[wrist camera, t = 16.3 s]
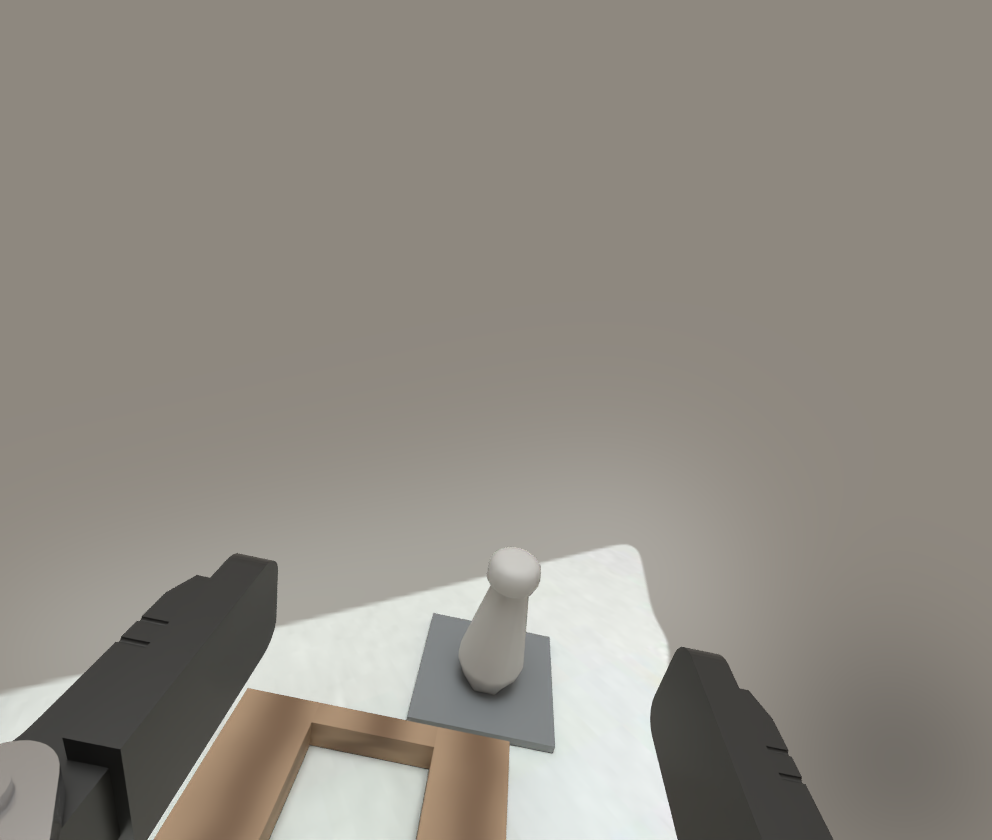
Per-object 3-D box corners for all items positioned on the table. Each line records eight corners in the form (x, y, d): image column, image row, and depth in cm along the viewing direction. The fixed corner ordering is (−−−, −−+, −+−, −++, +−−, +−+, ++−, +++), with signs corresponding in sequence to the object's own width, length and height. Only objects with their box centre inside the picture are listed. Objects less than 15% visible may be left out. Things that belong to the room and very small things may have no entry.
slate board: (405, 723, 38) (407, 716, 37) (432, 619, 48) (433, 613, 47) (552, 753, 38) (555, 746, 37) (547, 642, 48) (549, 637, 48)
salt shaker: (447, 651, 44) (472, 537, 39) (503, 642, 46) (534, 533, 41) (465, 710, 39) (497, 588, 34) (527, 697, 41) (565, 580, 36)
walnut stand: (121, 923, 25) (116, 898, 24) (247, 710, 36) (247, 688, 35) (491, 996, 25) (500, 974, 24) (502, 762, 36) (509, 741, 35)
